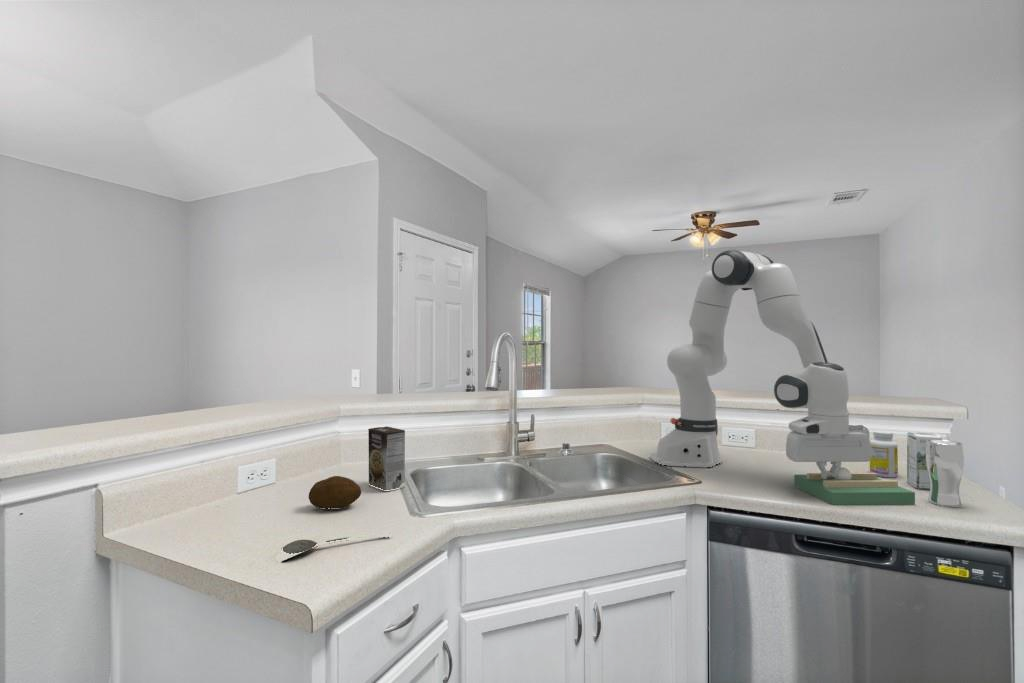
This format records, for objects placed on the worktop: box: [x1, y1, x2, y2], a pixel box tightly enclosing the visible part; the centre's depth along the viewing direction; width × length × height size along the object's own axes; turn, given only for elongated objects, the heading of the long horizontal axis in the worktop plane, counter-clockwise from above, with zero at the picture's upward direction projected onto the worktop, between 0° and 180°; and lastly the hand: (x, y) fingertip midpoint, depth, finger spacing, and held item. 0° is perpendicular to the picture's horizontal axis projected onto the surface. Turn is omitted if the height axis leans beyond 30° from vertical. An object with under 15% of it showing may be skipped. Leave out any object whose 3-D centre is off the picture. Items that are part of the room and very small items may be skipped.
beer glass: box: [926, 439, 965, 508], centre depth 119 cm, size 7×7×15 cm
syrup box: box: [906, 431, 943, 491], centre depth 131 cm, size 6×6×14 cm
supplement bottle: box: [869, 430, 899, 479], centre depth 143 cm, size 7×7×13 cm
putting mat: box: [793, 472, 916, 506], centre depth 126 cm, size 20×16×4 cm
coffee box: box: [368, 426, 406, 490], centre depth 135 cm, size 9×6×16 cm
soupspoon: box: [282, 537, 349, 554], centre depth 95 cm, size 22×3×7 cm
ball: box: [835, 466, 852, 480], centre depth 126 cm, size 4×4×4 cm
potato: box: [307, 475, 362, 510], centre depth 118 cm, size 8×12×8 cm, turn 102°
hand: (828, 478), depth 126 cm, fingers closed
